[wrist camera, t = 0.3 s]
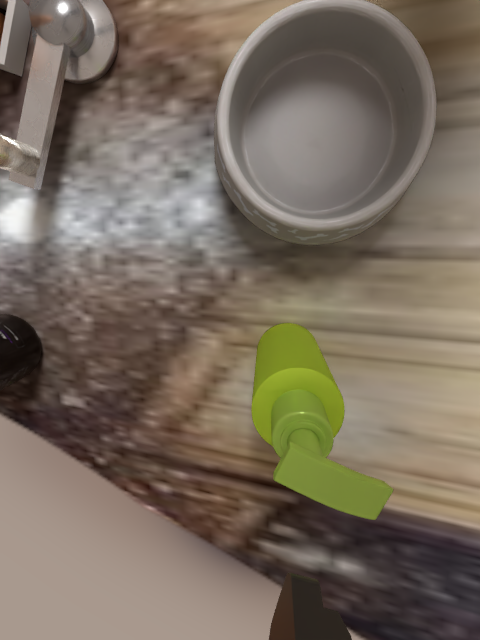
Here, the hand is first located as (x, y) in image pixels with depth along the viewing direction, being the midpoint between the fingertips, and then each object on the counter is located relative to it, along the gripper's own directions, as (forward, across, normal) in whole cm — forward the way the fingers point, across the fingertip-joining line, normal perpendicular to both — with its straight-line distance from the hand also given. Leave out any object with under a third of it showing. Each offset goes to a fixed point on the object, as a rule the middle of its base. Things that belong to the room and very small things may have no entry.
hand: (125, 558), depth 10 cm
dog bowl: (+28, -4, -18) cm, 34 cm away
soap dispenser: (+28, -6, +2) cm, 29 cm away
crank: (+27, +19, -16) cm, 36 cm away
